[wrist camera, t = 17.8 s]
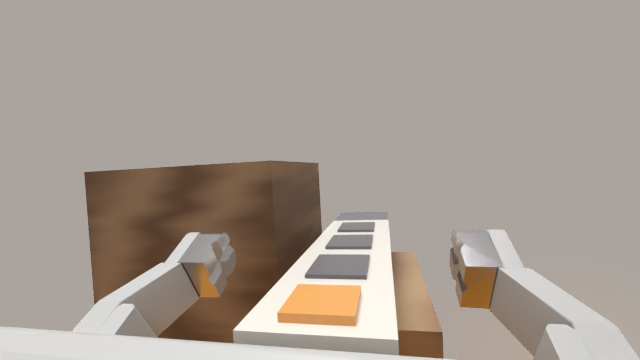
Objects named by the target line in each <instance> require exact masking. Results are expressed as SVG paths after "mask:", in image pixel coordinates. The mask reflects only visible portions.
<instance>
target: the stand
mask: <svg viewBox="0 0 640 360" xmlns="http://www.w3.org/2000/svg"><path fill="white" fill-rule="evenodd" d="M85 186H86V199H87V213H88V225H89V237H90V251H91V264H92V277H93V290H94V303H95V304H96V303H97V302H98V301H99V300H101V299H103V298H104V297H106V296H107V295H109V294H111V293H112V292H114V291H116V290H117V289H119V288H121V287H122V286H124V285H125V284H127V283H129V282H130V281H132V280H134V279H135V278H137V277H138V276H140V275H142V274H143V273H145V272H147V271H148V270H150V269H152V268H153V267H155V266H156V265H158V264H160V263H165V262H166V260H167V259H168V258H169V256H170V255H171V254H172V252H173V251H174V250H175V248H176V247H177V246H178V245H179V243H180V242H181V241H182V239H183V238H184V237H185V235H186V234H188V233H190V232H200V233H201V232H218V233H226V234H228V236H229V238H230V242H229V244H228V245H230V246H231V247H232V248H233V249H234V251H235V253H236V265H235V268H234V270H233V273H232V274H230V275H229V276H228V277H227V278H226V279H227V285H226V287H225V289H224V291H223V293H222V295H221V297H199V299H198V300H197V301H196V302H195V303H194V304H193V305H192V306H191V307H189V308H188V309H187V310H186V311H185V312H184V313H183V314H182V315H181V316H180V317H178V318H177V319H176V320H175V321H174V322H173V323H172V324H171V325H170V326H169V327H167V328H166V329H165V330H164V331H163V332H162V333H161V334H160V335H159V336H158V337H157V338H167V339H181V340H194V341H208V342H222V343H234V341H233V330H234V329H235V327H236V326H237V325H238V324H239V323H240V322H241V321H242V320H243V319H244V318H245V317H246V316H247V314H248V313H249V312H250V311H251V310H252V309H253V308H254V307H255V306H256V305H257V304H258V303H259V301H260V300H261V299H262V298H263V297H264V296H265V295H266V294H267V293H268V292H269V291H270V290H271V288H272V287H273V286H274V285H275V284H276V283H277V282H278V281H279V280H280V279H281V278H282V277H283V275H284V274H285V273H286V272H287V271H288V270H289V269H290V268H291V267H292V266H293V265H294V264H295V262H296V261H297V260H298V259H299V258H300V257H301V256H302V255H303V254H304V253H305V252H306V251H307V249H308V248H309V247H310V246H311V245H312V244H313V243H314V242H315V241H316V240H317V239H318V238H319V236H320V235H321V234H322V228H321V209H320V194H319V193H320V191H319V172H318V163H303V162H285V161H259V162H243V163H227V164H210V165H194V166H178V167H161V168H146V169H131V170H130V169H129V170H113V171H98V172H85ZM391 259H392V270H393V282H394V294H395V306H396V318H397V330H398V343H399V355H400V356H414V357H428V358H441V359H443V336H442V330H441V327H440V324H439V321H438V319H437V316H436V313H435V311H434V307H433V305H432V302H431V299H430V296H429V293H428V290H427V288H426V285H425V282H424V280H423V276H422V274H421V271H420V268H419V265H418V262H417V259H416V257H415V254H414V252H391Z"/></svg>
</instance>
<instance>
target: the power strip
mask: <svg viewBox="0 0 640 360" xmlns="http://www.w3.org/2000/svg"><path fill="white" fill-rule="evenodd" d="M233 341H234V343H235V344H249V345H263V346H276V347H290V348H303V349H317V350H330V351H344V352H358V353H372V354H386V355H399V343H398V330H397V318H396V306H395V294H394V282H393V270H392V259H391V248H390V235H389V224H388V212H362V213H341V214H340V215H339V216H338V217H337V218H336V219H335V220H334V221H333V222H332V223H331V225H330V226H329V227H328V228H327V229H326V230H325V231H324V232H323V233H322V234H321V235H320V236H319V238H318V239H317V240H316V241H315V242H314V243H313V244H312V245H311V246H310V247H309V248H308V249H307V251H306V252H305V253H304V254H303V255H302V256H301V257H300V258H299V259H298V260H297V261H296V262H295V264H294V265H293V266H292V267H291V268H290V269H289V270H288V271H287V272H286V273H285V274H284V275H283V277H282V278H281V279H280V280H279V281H278V282H277V283H276V284H275V285H274V286H273V287H272V288H271V290H270V291H269V292H268V293H267V294H266V295H265V296H264V297H263V298H262V299H261V300H260V301H259V303H258V304H257V305H256V306H255V307H254V308H253V309H252V310H251V311H250V312H249V313H248V314H247V316H246V317H245V318H244V319H243V320H242V321H241V322H240V323H239V324H238V325H237V326H236V327H235V329H234V330H233Z"/></svg>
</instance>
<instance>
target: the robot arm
mask: <svg viewBox="0 0 640 360" xmlns="http://www.w3.org/2000/svg"><path fill="white" fill-rule="evenodd" d="M451 241H452V245H453V248H452V249H450V267H451V273H452V277H453V279H454V280H456V293H457V297H458V300H459V304H460V307H470V308H485V309H490V311H491V312H492V313H493V314H494V315H495V316H496V317H497V319H498V320H499V321H500V322H501V323H502V324H503V325H504V326H505V327H506V328H507V329H508V330H509V331H510V332H511V333H512V334H513V335H514V336H515V337H516V338H517V339H518V340H519V341H520V343H522V345H523V346H524V347H525V348H526V349H527V350H528V351H529V352H530V353H531V354H532V355H533V356H534V359H533V360H640V359H639V358H638V356H637V355H636V353H635V352H634V351H633V349H632V348H631V346H630V345H629V343H628V342H627V340H626V339H625V338H624V336H623V335H622V333H621V332H620V330H619V329H618V328H617V326H616V325H614V324H613V323H611V322H610V321H608V320H607V319H605V318H604V317H602V316H601V315H599V314H598V313H596V312H595V311H593V310H592V309H590V308H589V307H587V306H586V305H584V304H583V303H581V302H580V301H578V300H577V299H575V298H574V297H572V296H571V295H569V294H568V293H566V292H565V291H563V290H562V289H560V288H559V287H557V286H556V285H554V284H553V283H551V282H550V281H548V280H547V279H545V278H544V277H542V276H541V275H540V274H538V273H536V272H535V271H533V270H532V269H531V268H524V266H523V264H522V262H521V260H520V258H519V256H518V254H517V253H516V251H515V249H514V247H513V245H512V243H511V241H510V239H509V238H508V235H507V234H506V232H505V231H504V230H472V231H471V230H469V231H453V232H452V237H451ZM229 242H230V238H229V236H228V234H226V233H218V232H201V233H200V232H190V233H188V234H186V235H185V237H184V238H183V239H182V241H181V242H180V243H179V245H178V246H177V247H176V248H175V250H174V251H173V252H172V254H171V255H170V256H169V258H168V259H167V260H166V262H165V263H160V264H158V265H156V266H155V267H153V268H152V269H150V270H148V271H147V272H145V273H143V274H142V275H140V276H138V277H137V278H135V279H134V280H132V281H130V282H129V283H127V284H125V285H124V286H122V287H121V288H119V289H117V290H116V291H114V292H112V293H111V294H109V295H107V296H106V297H104V298H103V299H101V300H99V301H98V302H97V303H96V304H95V305H94V307H93V308H92V309H91V310H90V311H89V312H88V313H87V314H86V316H85V317H84V318H83V319H82V320H81V321H80V323H79V324H78V325H77V326H76V327H75V328H74V329H73V330H72V332H71V331H57V330H43V329H29V328H15V327H1V326H0V360H454V359H441V358H428V357H414V356H400V355H386V354H372V353H358V352H344V351H330V350H317V349H303V348H290V347H276V346H263V345H249V344H235V343H222V342H208V341H194V340H181V339H167V338H157V337H158V336H159V335H160V334H161V333H162V332H163V331H164V330H165V329H166V328H167V327H169V326H170V325H171V324H172V323H173V322H174V321H175V320H176V319H177V318H178V317H180V316H181V315H182V314H183V313H184V312H185V311H186V310H187V309H188V308H189V307H191V306H192V305H193V304H194V303H195V302H196V301H197V300H198V299H199V297H221V295H222V293H223V291H224V289H225V287H226V285H227V279H226V278H227V277H228V276H229V275H230V274H232V273H233V270H234V268H235V265H236V253H235V251H234V249H233V248H232V247H231V246H230V245H228V244H229Z"/></svg>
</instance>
